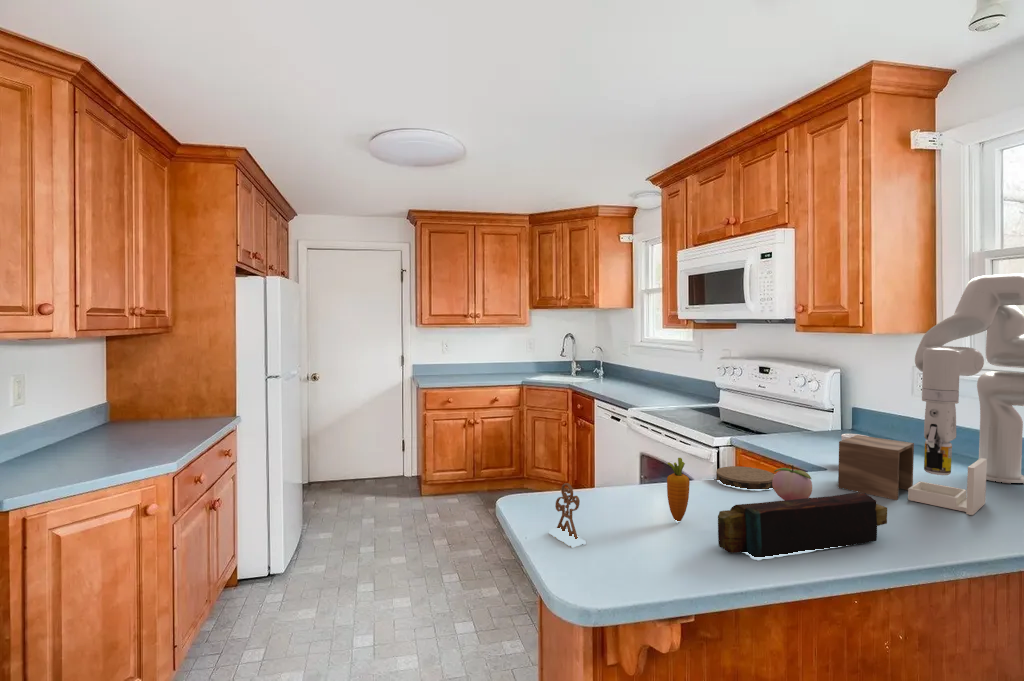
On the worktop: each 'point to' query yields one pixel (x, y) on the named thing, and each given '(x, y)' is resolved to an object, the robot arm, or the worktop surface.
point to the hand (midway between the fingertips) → (937, 465)
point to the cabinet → (875, 465)
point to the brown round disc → (745, 477)
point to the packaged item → (800, 524)
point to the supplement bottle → (946, 459)
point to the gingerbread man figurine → (567, 513)
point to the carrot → (678, 490)
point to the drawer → (955, 491)
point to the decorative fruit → (792, 484)
